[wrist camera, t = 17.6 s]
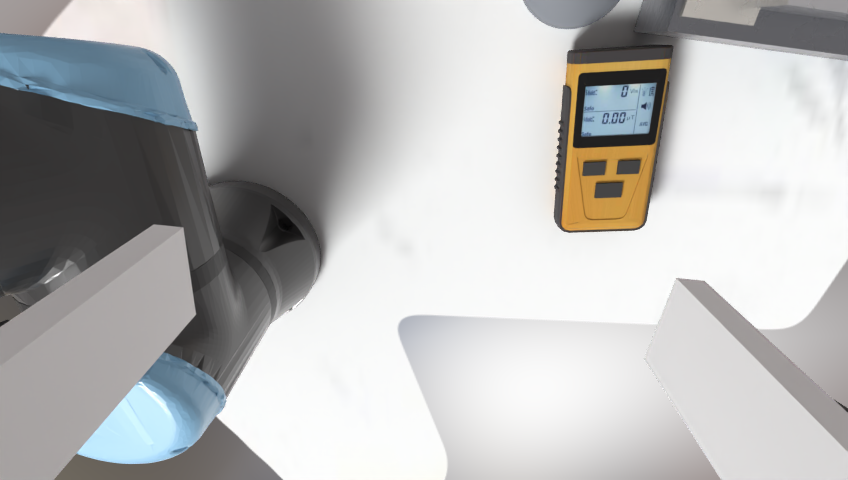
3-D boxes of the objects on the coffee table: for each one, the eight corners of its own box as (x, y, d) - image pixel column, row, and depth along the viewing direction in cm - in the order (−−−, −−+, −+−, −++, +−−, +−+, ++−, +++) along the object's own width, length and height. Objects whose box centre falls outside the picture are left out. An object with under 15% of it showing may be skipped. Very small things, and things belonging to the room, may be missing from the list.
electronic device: (548, 222, 43) (556, 236, 40) (560, 50, 37) (570, 51, 34) (636, 219, 43) (650, 233, 40) (664, 44, 36) (684, 45, 33)
